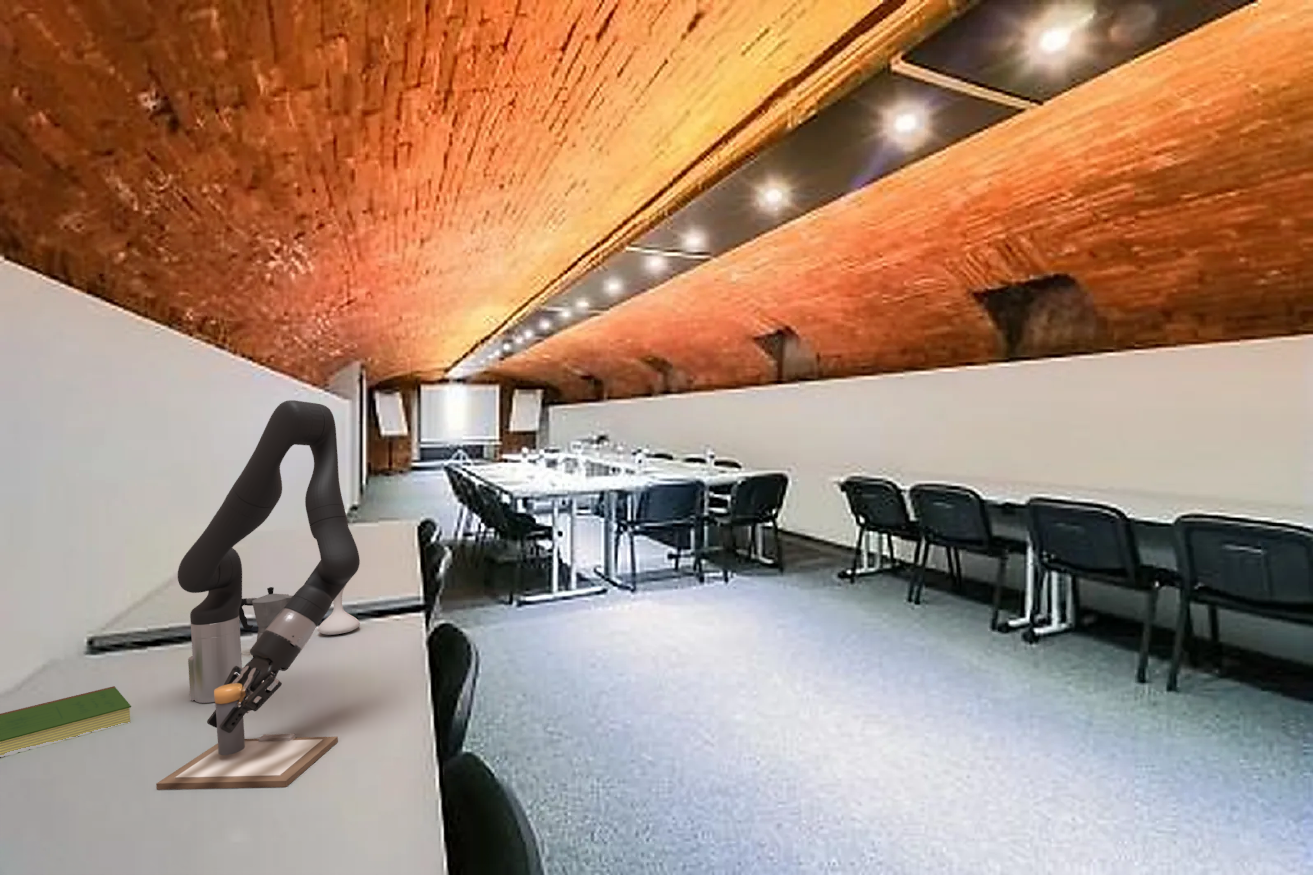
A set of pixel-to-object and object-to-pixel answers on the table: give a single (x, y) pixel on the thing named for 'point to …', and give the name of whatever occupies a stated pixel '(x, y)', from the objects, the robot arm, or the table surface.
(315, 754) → the clipboard
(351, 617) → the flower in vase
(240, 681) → the robot arm
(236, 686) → the orange and grey cylinder
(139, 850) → the table surface
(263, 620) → the coffeepot
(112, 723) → the hardcover book
